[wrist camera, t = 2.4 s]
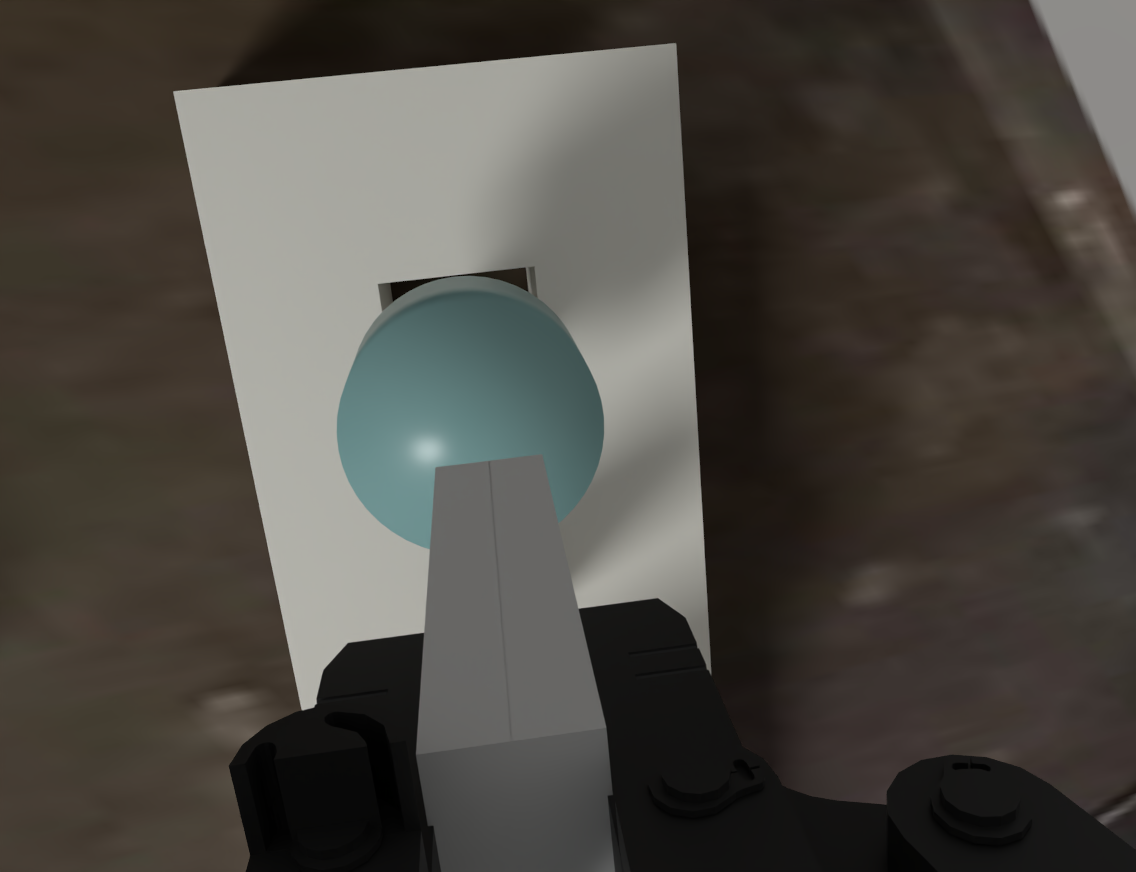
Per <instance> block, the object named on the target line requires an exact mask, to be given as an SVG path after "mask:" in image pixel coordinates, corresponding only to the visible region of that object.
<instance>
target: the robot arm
mask: <svg viewBox="0 0 1136 872" xmlns="http://www.w3.org/2000/svg"><path fill="white" fill-rule="evenodd" d="M316 700H317V704H315V706H314V708H310V709H306V710H302V711H298V712H295V713H293V714H291V715H289V716H286V717H284V718H282V719H280V720H278V721H276V722H274V723H271V724H269V725H267V726H266V727H264V728H263V729H262V730H260V731H259V732H258V733H257V734H255V735H254V736H253V737H252V738H250V739H249V740H248V741H247V742H245V743H244V744H243V745H242V746H241V748H240V749H239V751H238V753H237V754H236V756H235V757H234V759H233V760H232V762H231V763H230V765H229V769H230V773H231V777H232V781H233V785H234V789H235V794H236V798H237V802H238V806H239V810H240V814H241V819H242V823H243V827H244V831H245V835H246V839H247V844H248V848H249V852H250V859H249V862H248V866H247V869H246V872H1136V850H1135V849H1134V848H1132V847H1131V846H1130V845H1129V844H1127V843H1126V842H1125V841H1123V840H1122V839H1121V838H1119V837H1118V836H1117V835H1115V834H1114V833H1113V832H1112V831H1110V830H1109V829H1108V828H1106V827H1105V826H1104V825H1102V824H1101V823H1100V822H1099V821H1097V820H1096V819H1095V818H1093V817H1092V816H1091V815H1089V814H1088V813H1087V812H1086V811H1084V810H1083V809H1082V808H1080V807H1079V806H1078V805H1076V804H1075V803H1074V802H1072V801H1071V800H1070V799H1069V798H1067V797H1066V796H1065V795H1063V794H1062V793H1061V792H1059V791H1058V790H1057V789H1056V788H1054V787H1053V786H1052V785H1050V784H1049V783H1047V782H1045V781H1043V780H1042V779H1040V778H1038V777H1036V776H1035V775H1033V774H1031V773H1029V772H1028V771H1026V770H1024V769H1022V768H1021V767H1017V766H1014V765H1011V764H1007V763H1004V762H1000V761H997V760H994V759H990V758H987V757H976V756H962V755H948V756H942V757H936V758H931V759H925V760H921V761H919V762H917V763H915V764H914V765H912V766H910V767H908V768H906V769H905V770H903V771H901V772H899V773H898V775H897V776H896V778H895V779H894V781H893V782H892V784H891V786H890V787H889V789H888V790H887V805H882V804H871V803H859V802H847V801H836V800H830V799H824V798H818V797H812V796H809V795H806V794H803V793H800V792H797V791H794V790H791V789H788V788H786V787H784V786H782V785H781V782H780V780H779V778H778V776H777V775H776V774H775V773H774V771H773V770H772V769H771V768H770V766H769V765H768V764H767V763H766V762H765V760H764V759H763V758H761V757H760V756H758V755H756V754H754V753H752V752H751V751H749V750H747V749H745V748H743V747H742V745H741V742H740V740H739V738H738V735H737V733H736V731H735V729H734V726H733V724H732V722H731V720H730V717H729V715H728V713H727V710H726V708H725V706H724V704H723V701H722V699H721V697H720V695H719V692H718V690H717V688H716V685H715V683H714V681H713V679H712V676H711V674H710V672H709V670H707V667H706V663H705V660H704V658H703V656H702V654H701V651H700V649H699V648H697V642H696V640H695V638H694V635H693V633H692V631H691V629H690V626H689V624H688V622H687V620H686V617H684V616H683V615H681V614H680V613H679V612H677V611H676V610H674V609H673V608H671V607H670V606H669V605H667V604H666V603H664V602H663V601H662V600H660V599H659V598H654V599H647V600H639V601H632V602H624V603H617V604H609V605H602V606H595V607H587V608H580V609H578V605H577V601H576V596H575V592H574V588H573V584H572V579H571V575H570V571H569V567H568V562H567V558H566V554H565V549H564V545H563V541H562V537H561V532H560V528H559V524H558V520H557V515H556V511H555V507H554V503H553V498H552V494H551V490H550V486H549V481H548V477H547V473H546V469H545V464H544V460H543V456H542V454H540V455H532V456H524V457H515V458H507V459H499V460H491V461H483V462H475V463H467V464H459V465H450V466H442V467H435V481H434V496H433V511H432V525H431V540H430V555H429V570H428V584H427V599H426V614H425V628H424V633H418V634H410V635H403V636H395V637H388V638H380V639H373V640H365V641H358V642H350V643H347V644H346V645H345V647H344V648H343V649H342V650H341V651H340V652H339V653H338V654H337V655H336V656H335V658H334V659H333V660H332V661H331V662H330V663H329V664H328V665H327V666H326V668H325V669H324V670H323V673H322V677H321V681H320V685H319V690H318V694H317V698H316Z"/></svg>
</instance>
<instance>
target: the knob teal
mask: <svg viewBox="0 0 1136 872" xmlns="http://www.w3.org/2000/svg"><path fill="white" fill-rule="evenodd" d="M603 440H604V414H603V408H602V401H601V398H600V394H599V391H598V388H597V385H596V382H595V380H594V378H593V376H592V374H591V371H590V369H589V367H588V366H587V364H586V362H585V360H584V358H583V356H582V354H581V353H580V351H579V349H578V347H577V345H576V343H575V341H574V340H573V338H572V336H571V334H570V333H569V331H568V330H567V328H566V326H565V325H564V323H563V322H562V321H561V320H560V319H559V317H558V316H557V315H556V314H555V313H554V312H553V311H552V310H551V309H550V308H549V307H548V306H547V305H546V304H545V303H544V302H542V301H541V300H539V299H538V298H537V297H535V296H534V295H532V294H531V293H529V292H527V291H525V290H523V289H521V288H519V287H518V286H515V285H513V284H510V283H507V282H504V281H501V280H497V279H492V278H488V277H478V276H456V277H449V278H444V279H438V280H435V281H432V282H429V283H426V284H423V285H421V286H419V287H417V288H415V289H412V290H410V291H409V292H407V293H405V294H404V295H402V296H401V297H399V298H398V299H396V300H395V301H394V302H393V303H391V304H390V305H389V306H388V307H387V308H386V309H384V311H383V312H382V313H381V314H380V315H379V316H378V317H377V318H376V320H375V321H374V322H373V323H372V325H371V326H370V328H369V329H368V331H367V332H366V334H365V336H364V338H363V340H362V342H361V344H360V346H359V348H358V351H357V354H356V356H355V359H354V362H353V365H352V367H351V370H350V373H349V375H348V378H347V381H346V383H345V386H344V389H343V392H342V396H341V399H340V403H339V409H338V415H337V442H338V451H339V455H340V459H341V463H342V466H343V469H344V471H345V474H346V476H347V479H348V481H349V483H350V485H351V487H352V489H353V490H354V492H355V494H356V496H357V497H358V498H359V500H360V501H361V502H362V504H363V505H364V506H365V508H366V509H367V510H368V511H369V512H370V513H371V514H372V515H373V516H374V517H375V518H376V519H377V520H378V521H379V522H380V523H381V524H383V525H384V526H385V527H387V528H388V529H389V530H390V531H392V532H393V533H395V534H397V535H398V536H400V537H402V538H404V539H405V540H407V541H409V542H412V543H414V544H416V545H419V546H421V547H424V548H427V549H430V540H431V525H432V511H433V496H434V481H435V467H442V466H450V465H459V464H467V463H475V462H483V461H491V460H499V459H507V458H515V457H524V456H532V455H540V454H542V456H543V460H544V464H545V469H546V473H547V477H548V481H549V486H550V490H551V494H552V498H553V503H554V507H555V511H556V515H557V520H558V523H559V522H561V521H562V520H563V519H564V518H565V517H566V516H567V515H568V514H569V513H570V512H571V511H572V510H573V509H574V508H575V506H576V505H577V504H578V502H579V501H580V500H581V498H582V497H583V496H584V494H585V492H586V491H587V489H588V487H589V485H590V484H591V482H592V480H593V477H594V475H595V472H596V470H597V467H598V465H599V461H600V457H601V453H602V448H603Z"/></svg>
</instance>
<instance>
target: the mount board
mask: <svg viewBox="0 0 1136 872" xmlns="http://www.w3.org/2000/svg"><path fill="white" fill-rule="evenodd" d="M173 93H174V98H175V102H176V107H177V112H178V117H179V122H180V126H181V131H182V136H183V141H184V146H185V150H186V155H187V160H188V165H189V170H190V175H191V179H192V184H193V189H194V194H195V199H196V203H197V208H198V213H199V218H200V223H201V227H202V232H203V237H204V242H205V247H206V251H207V256H208V261H209V266H210V271H211V275H212V280H213V285H214V290H215V295H216V300H217V304H218V309H219V314H220V319H221V324H222V328H223V333H224V338H225V343H226V348H227V352H228V357H229V362H230V367H231V372H232V376H233V381H234V386H235V391H236V396H237V400H238V405H239V410H240V415H241V420H242V425H243V429H244V434H245V439H246V444H247V449H248V453H249V458H250V463H251V468H252V473H253V477H254V482H255V487H256V492H257V497H258V501H259V506H260V511H261V516H262V521H263V525H264V530H265V535H266V540H267V545H268V550H269V554H270V559H271V564H272V569H273V574H274V578H275V583H276V588H277V593H278V598H279V602H280V607H281V612H282V617H283V622H284V626H285V631H286V636H287V641H288V646H289V650H290V655H291V660H292V665H293V670H294V675H295V679H296V684H297V689H298V694H299V699H300V703H301V708H302V710H306V709H310V708H314V706H315V704H317V700H316V698H317V694H318V690H319V685H320V681H321V677H322V673H323V670H324V669H325V668H326V666H327V665H328V664H329V663H330V662H331V661H332V660H333V659H334V658H335V656H336V655H337V654H338V653H339V652H340V651H341V650H342V649H343V648H344V647H345V645H346V644H347V643H350V642H358V641H365V640H373V639H380V638H388V637H395V636H403V635H410V634H418V633H424V628H425V614H426V599H427V584H428V570H429V555H430V549H427V548H424V547H421V546H419V545H416V544H414V543H412V542H409V541H407V540H405V539H404V538H402V537H400V536H398V535H397V534H395V533H393V532H392V531H390V530H389V529H388V528H387V527H385V526H384V525H383V524H381V523H380V522H379V521H378V520H377V519H376V518H375V517H374V516H373V515H372V514H371V513H370V512H369V511H368V510H367V509H366V508H365V506H364V505H363V504H362V502H361V501H360V500H359V498H358V497H357V496H356V494H355V492H354V490H353V489H352V487H351V485H350V483H349V481H348V479H347V476H346V474H345V471H344V469H343V466H342V463H341V459H340V455H339V451H338V442H337V415H338V409H339V403H340V399H341V396H342V392H343V389H344V386H345V383H346V381H347V378H348V375H349V373H350V370H351V367H352V365H353V362H354V359H355V356H356V354H357V351H358V348H359V346H360V344H361V342H362V340H363V338H364V336H365V334H366V332H367V331H368V329H369V328H370V326H371V325H372V323H373V322H374V321H375V320H376V318H377V317H378V316H379V315H380V314H381V313H382V312H383V311H384V309H386V308H387V307H388V306H389V305H390V304H391V303H393V299H392V292H391V285H390V282H399V281H408V280H417V279H426V278H435V277H444V276H453V275H462V274H471V273H479V272H488V271H497V270H506V269H515V268H524V267H526V274H527V283H528V292H529V293H531V294H532V295H534V296H535V297H537V298H538V299H539V300H541V301H542V302H544V303H545V304H546V305H547V306H548V307H549V308H550V309H551V310H552V311H553V312H554V313H555V314H556V315H557V316H558V317H559V319H560V320H561V321H562V322H563V323H564V325H565V326H566V328H567V330H568V331H569V333H570V334H571V336H572V338H573V340H574V341H575V343H576V345H577V347H578V349H579V351H580V353H581V354H582V356H583V358H584V360H585V362H586V364H587V366H588V367H589V369H590V371H591V374H592V376H593V378H594V380H595V382H596V385H597V388H598V391H599V394H600V398H601V401H602V408H603V414H604V440H603V448H602V453H601V457H600V461H599V465H598V467H597V470H596V472H595V475H594V477H593V480H592V482H591V484H590V485H589V487H588V489H587V491H586V492H585V494H584V496H583V497H582V498H581V500H580V501H579V502H578V504H577V505H576V506H575V508H574V509H573V510H572V511H571V512H570V513H569V514H568V515H567V516H566V517H565V518H564V519H563V520H562V521H561V522H559V523H558V524H559V528H560V532H561V537H562V541H563V545H564V549H565V554H566V558H567V562H568V567H569V571H570V575H571V579H572V584H573V588H574V592H575V596H576V601H577V605H578V609H580V608H587V607H595V606H602V605H609V604H617V603H624V602H632V601H639V600H647V599H654V598H659V599H660V600H662V601H663V602H664V603H666V604H667V605H669V606H670V607H671V608H673V609H674V610H676V611H677V612H679V613H680V614H681V615H683V616H684V617H686V620H687V622H688V624H689V626H690V629H691V631H692V633H693V635H694V638H695V640H696V642H697V648H699V649H700V651H701V654H702V656H703V658H704V660H705V663H706V667H707V670H709V672H710V674H711V658H710V640H709V622H708V604H707V586H706V569H705V551H704V533H703V515H702V497H701V479H700V461H699V443H698V425H697V407H696V389H695V372H694V354H693V336H692V318H691V300H690V282H689V264H688V246H687V228H686V210H685V192H684V175H683V157H682V139H681V121H680V103H679V85H678V67H677V49H676V43H671V44H661V45H651V46H640V47H630V48H619V49H609V50H599V51H588V52H578V53H568V54H557V55H547V56H536V57H526V58H516V59H505V60H495V61H484V62H474V63H464V64H453V65H443V66H433V67H422V68H412V69H401V70H391V71H381V72H370V73H360V74H349V75H339V76H329V77H318V78H308V79H297V80H287V81H277V82H266V83H256V84H246V85H235V86H225V87H214V88H204V89H194V90H183V91H173Z"/></svg>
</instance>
